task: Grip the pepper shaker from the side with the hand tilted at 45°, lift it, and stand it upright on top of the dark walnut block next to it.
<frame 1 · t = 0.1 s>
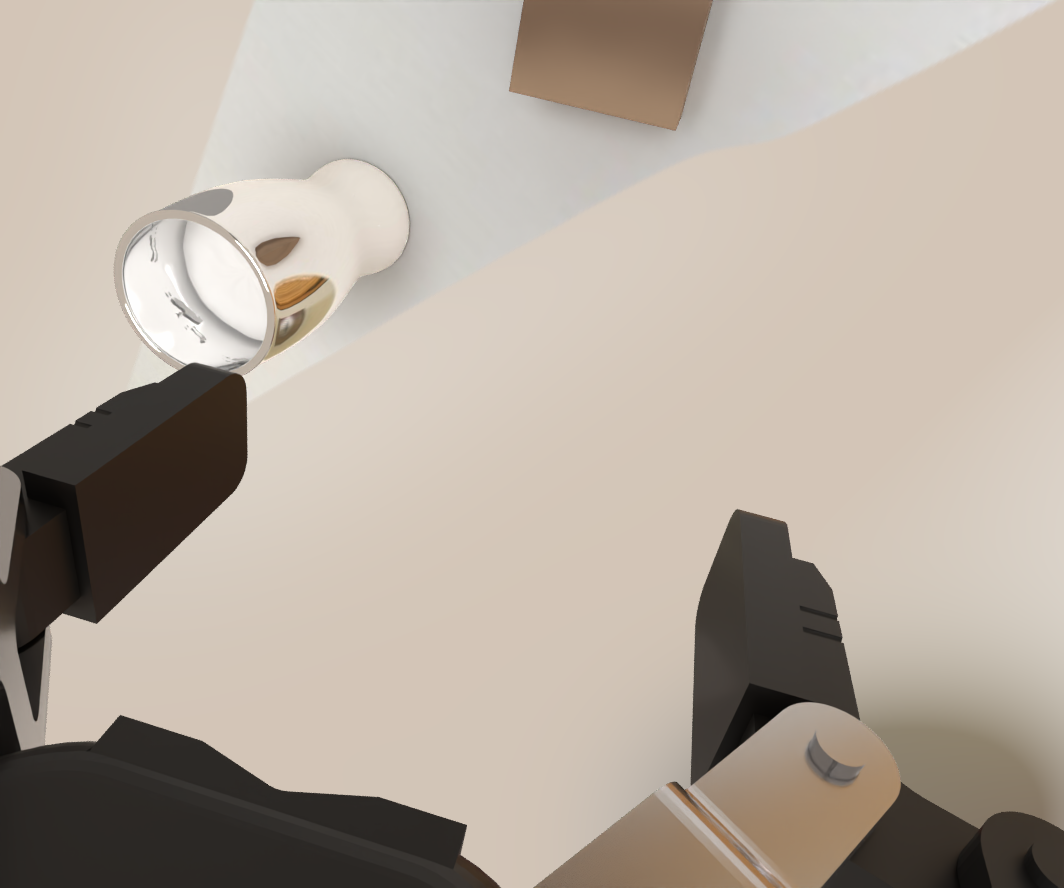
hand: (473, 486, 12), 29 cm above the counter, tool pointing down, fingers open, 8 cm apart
walnut block: (627, 17, 34), on the counter
beer glass: (358, 216, 41), on the counter
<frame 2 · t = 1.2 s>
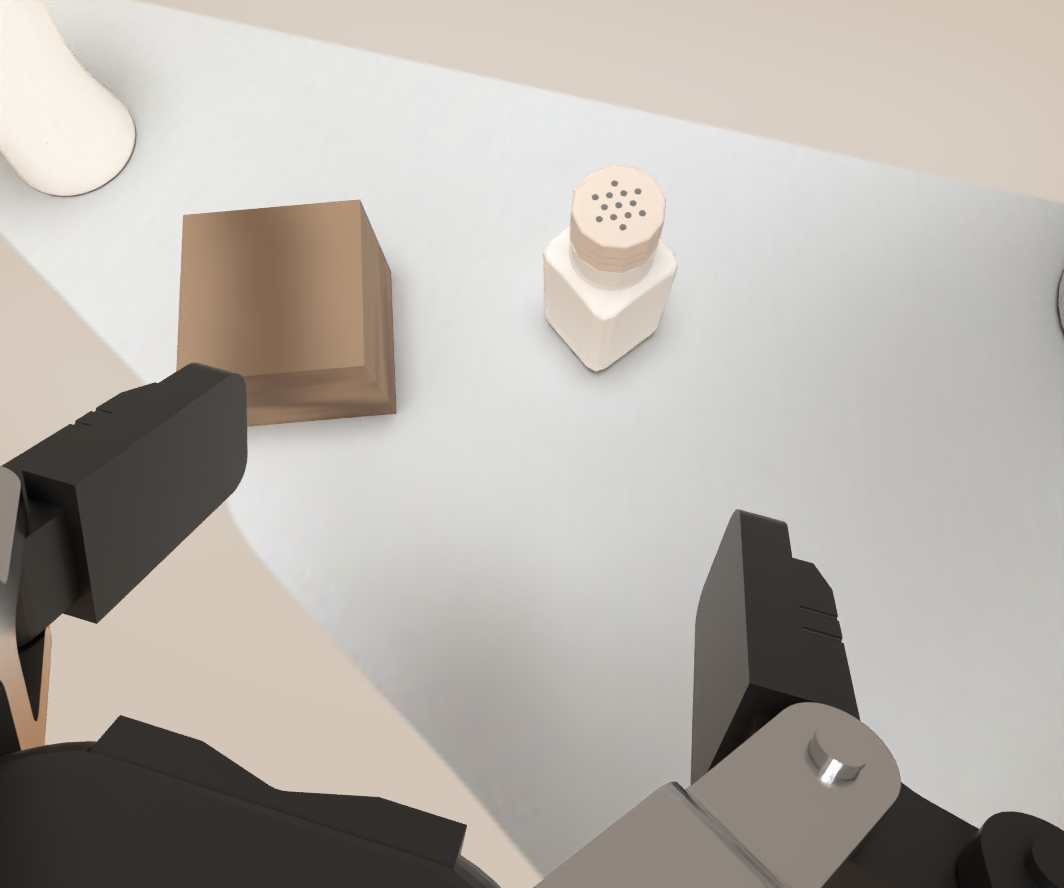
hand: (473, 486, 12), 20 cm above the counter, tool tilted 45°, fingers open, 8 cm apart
walnut block: (317, 348, 35), on the counter
beer glass: (78, 146, 38), on the counter
pepper shaker: (600, 324, 35), on the counter
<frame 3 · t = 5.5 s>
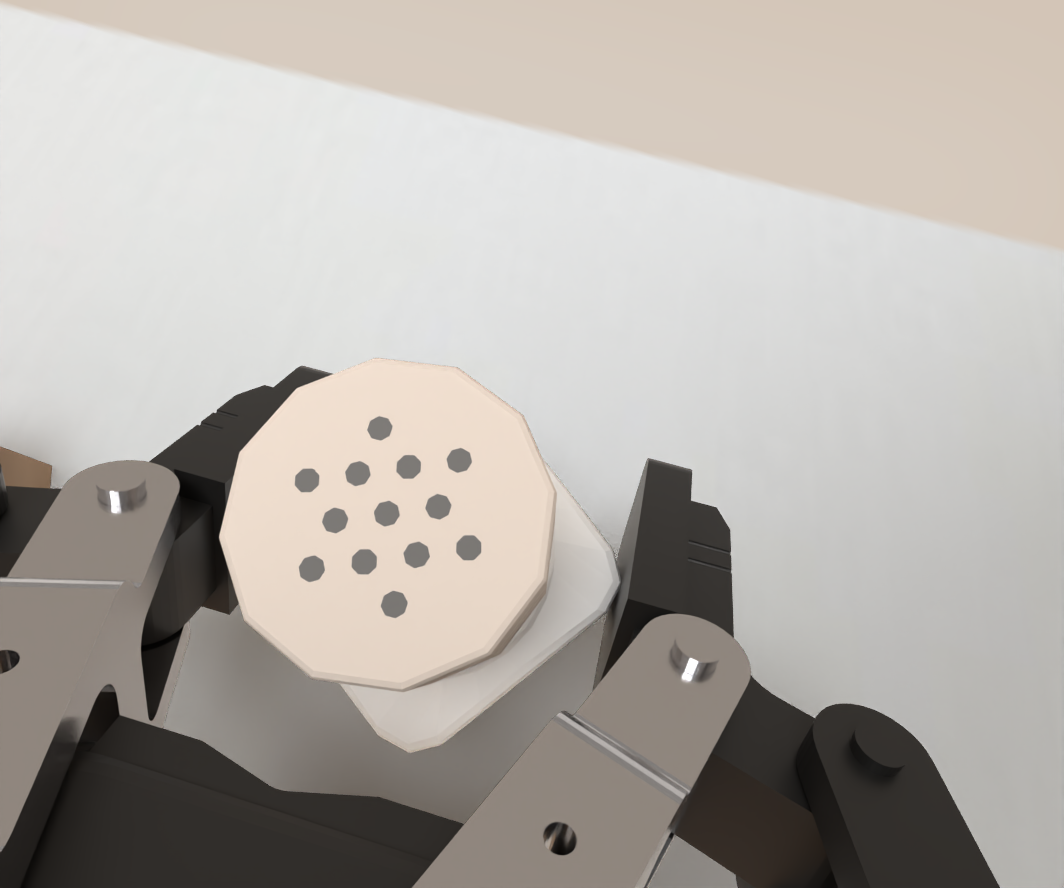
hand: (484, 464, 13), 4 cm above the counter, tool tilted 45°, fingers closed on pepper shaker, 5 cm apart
pepper shaker: (477, 591, 16), on the counter, touching gripper
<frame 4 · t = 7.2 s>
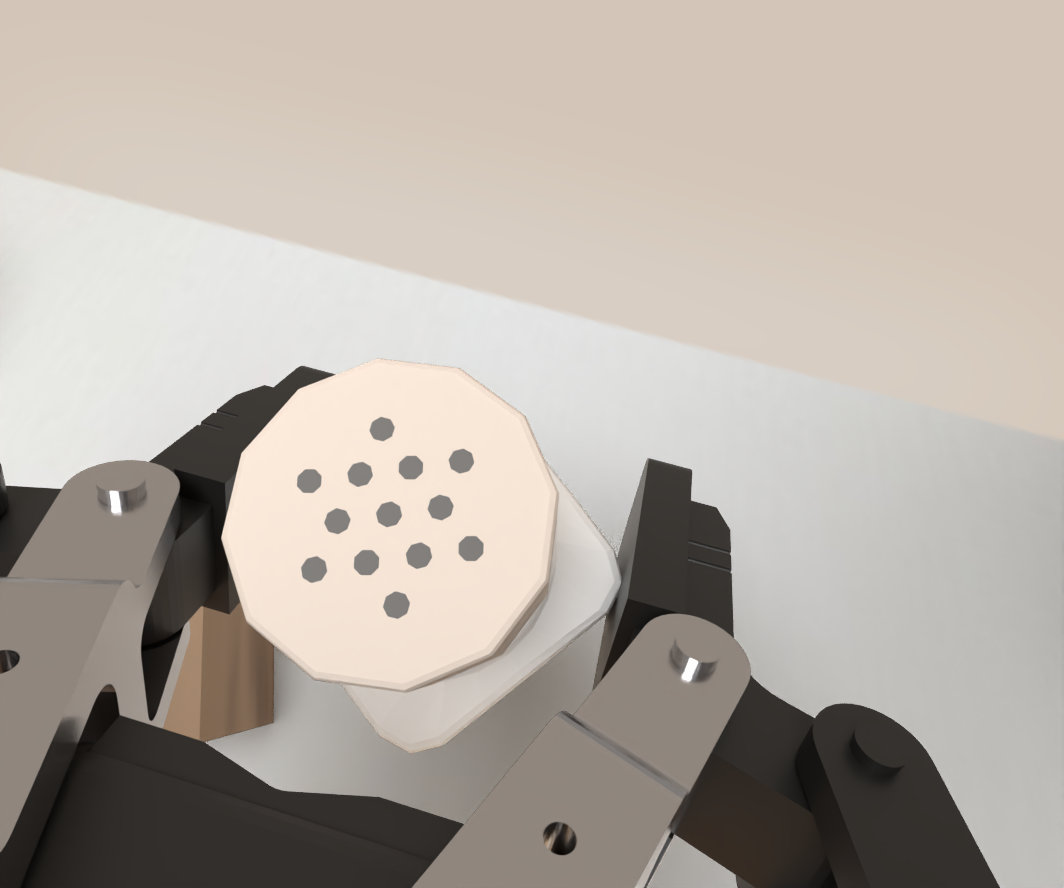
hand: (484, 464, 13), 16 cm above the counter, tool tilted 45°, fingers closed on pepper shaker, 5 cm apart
walnut block: (180, 630, 28), on the counter
pepper shaker: (478, 591, 16), point 12 cm above the counter, touching gripper
when the fingers open (11 cm above the counter, at t = 9.2 s): pepper shaker drops 1 cm, resting on walnut block.
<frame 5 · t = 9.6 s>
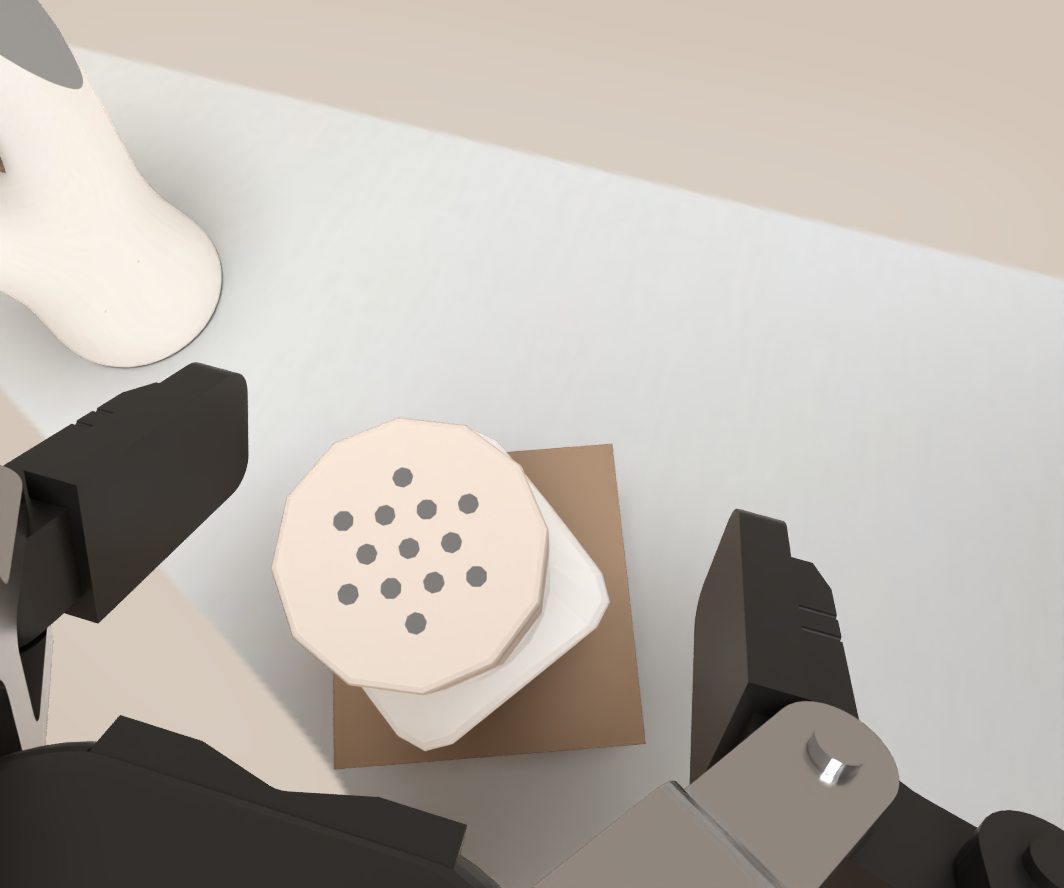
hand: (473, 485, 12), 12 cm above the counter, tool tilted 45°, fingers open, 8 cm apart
walnut block: (496, 611, 24), on the counter, touching pepper shaker
beer glass: (140, 290, 27), on the counter
pepper shaker: (483, 607, 18), point 6 cm above the counter, touching walnut block
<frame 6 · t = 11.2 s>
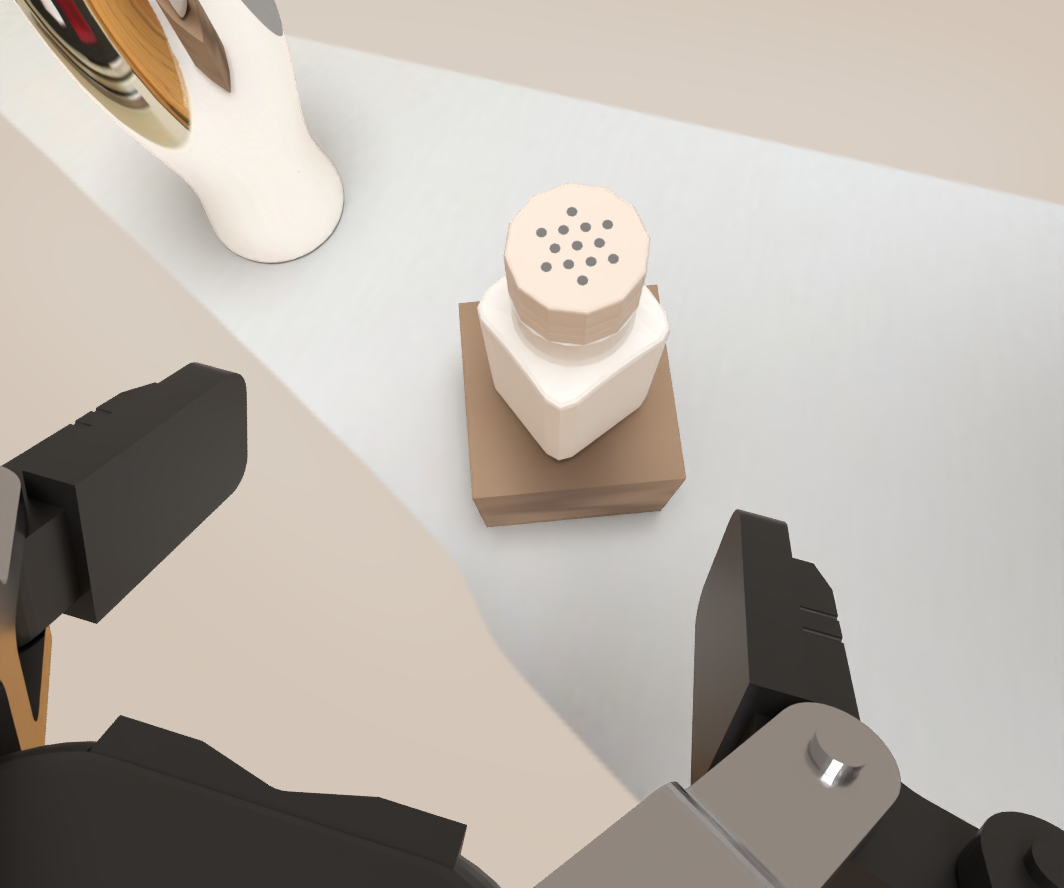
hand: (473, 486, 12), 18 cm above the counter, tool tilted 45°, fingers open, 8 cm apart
walnut block: (564, 436, 31), on the counter, touching pepper shaker
beer glass: (279, 206, 35), on the counter
pepper shaker: (568, 393, 26), point 6 cm above the counter, touching walnut block
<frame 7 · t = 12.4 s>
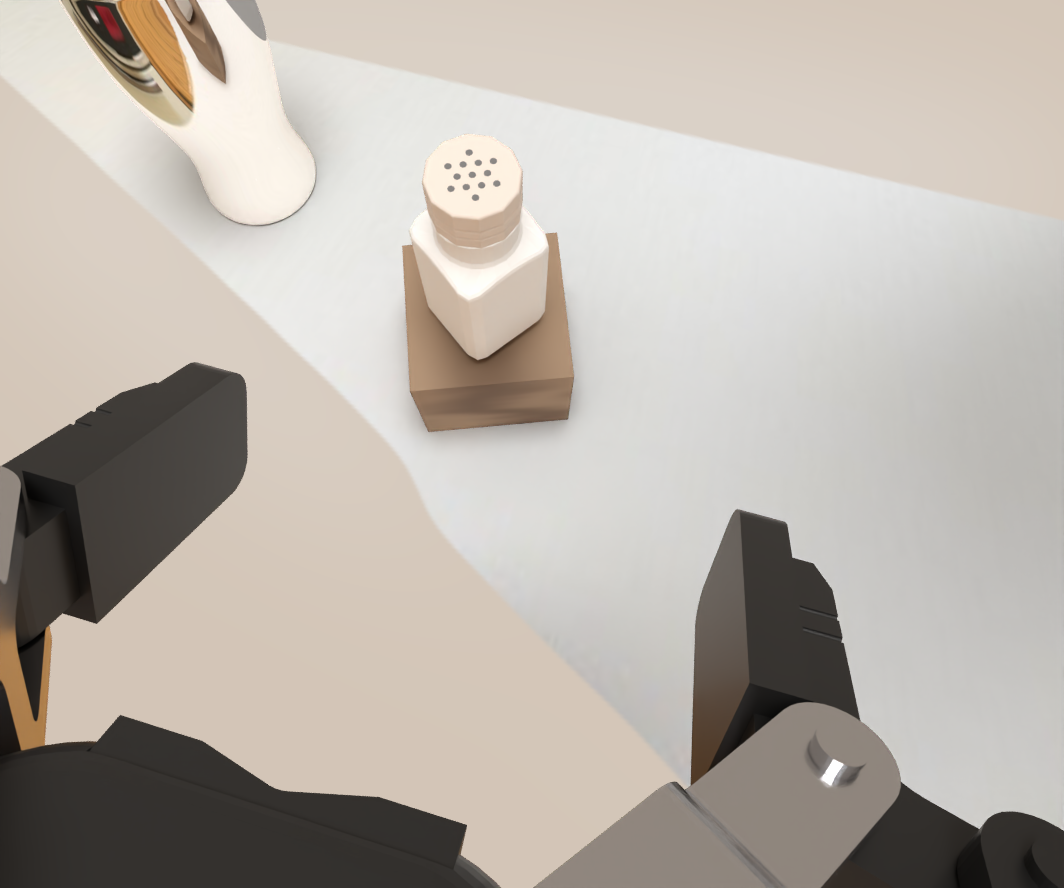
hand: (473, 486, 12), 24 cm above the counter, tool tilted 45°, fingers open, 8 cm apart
walnut block: (492, 361, 39), on the counter, touching pepper shaker
beer glass: (263, 180, 42), on the counter
pepper shaker: (486, 312, 33), point 6 cm above the counter, touching walnut block
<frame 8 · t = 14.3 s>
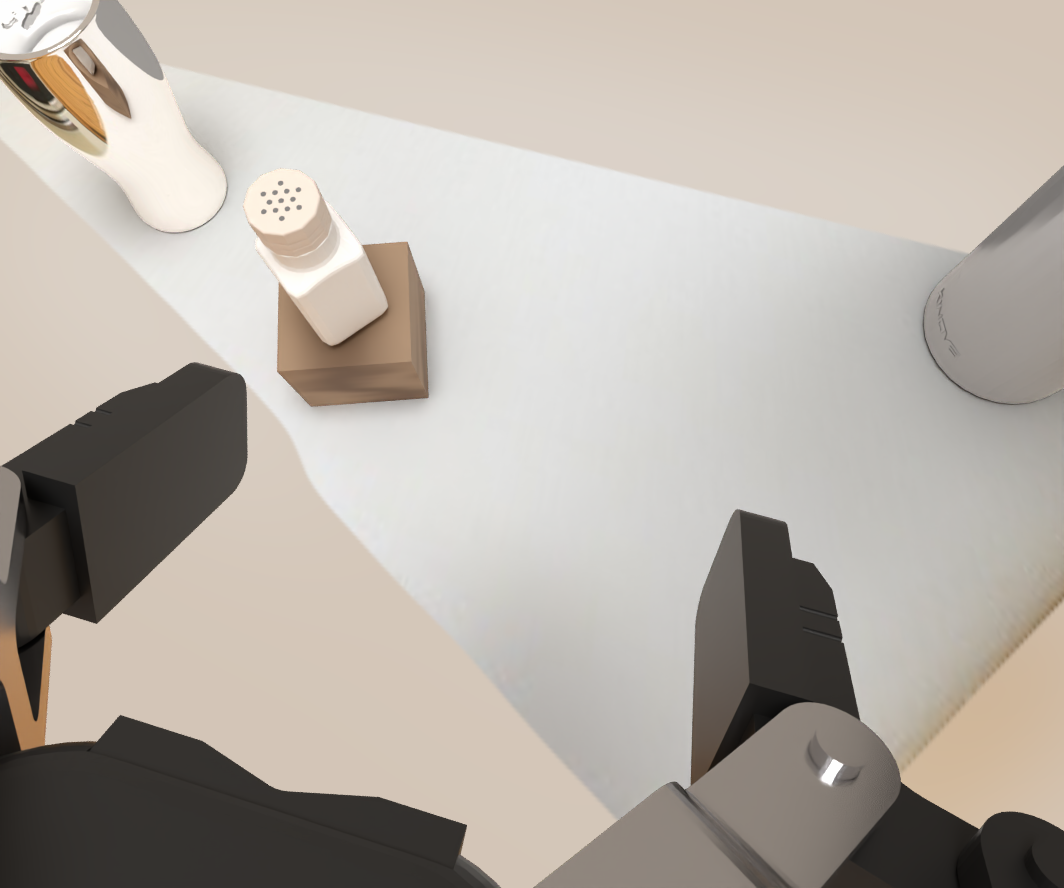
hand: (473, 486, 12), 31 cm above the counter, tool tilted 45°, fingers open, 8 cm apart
walnut block: (369, 348, 46), on the counter, touching pepper shaker
beer glass: (182, 193, 49), on the counter
pepper shaker: (343, 307, 40), point 6 cm above the counter, touching walnut block
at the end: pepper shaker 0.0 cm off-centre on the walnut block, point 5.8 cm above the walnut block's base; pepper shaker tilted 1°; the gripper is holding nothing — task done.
